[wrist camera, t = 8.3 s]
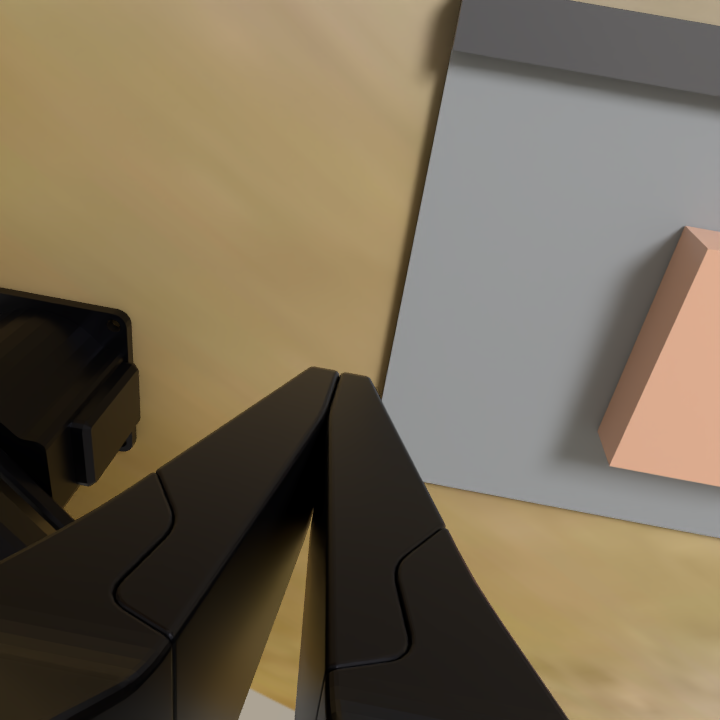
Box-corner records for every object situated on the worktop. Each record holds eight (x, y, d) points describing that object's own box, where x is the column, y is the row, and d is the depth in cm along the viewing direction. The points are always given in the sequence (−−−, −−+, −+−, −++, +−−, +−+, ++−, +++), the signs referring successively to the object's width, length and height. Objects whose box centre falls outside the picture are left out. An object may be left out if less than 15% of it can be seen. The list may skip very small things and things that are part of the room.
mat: (368, 464, 26) (367, 471, 26) (454, 35, 18) (454, 36, 18) (805, 547, 26) (809, 555, 26) (1095, 146, 18) (1108, 149, 17)
